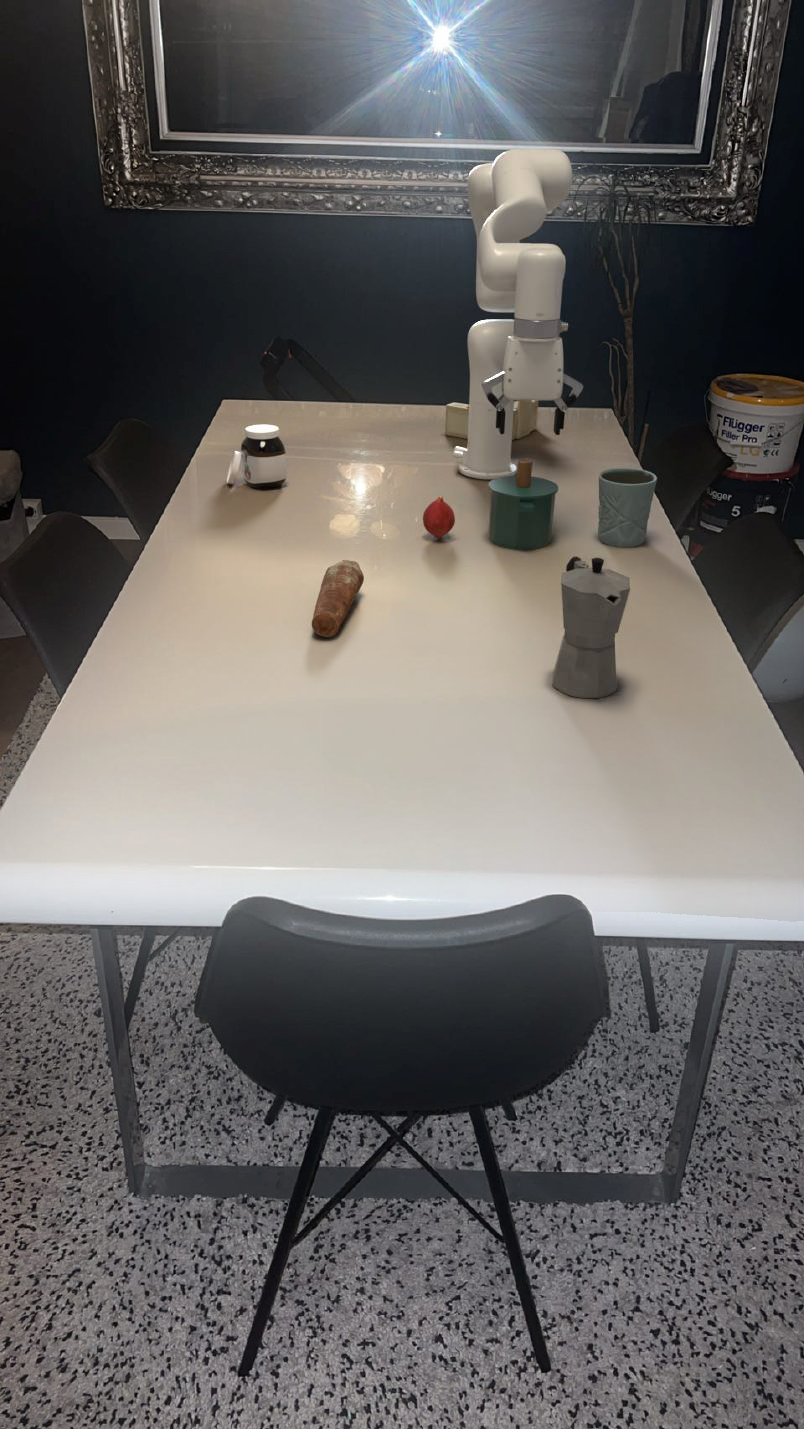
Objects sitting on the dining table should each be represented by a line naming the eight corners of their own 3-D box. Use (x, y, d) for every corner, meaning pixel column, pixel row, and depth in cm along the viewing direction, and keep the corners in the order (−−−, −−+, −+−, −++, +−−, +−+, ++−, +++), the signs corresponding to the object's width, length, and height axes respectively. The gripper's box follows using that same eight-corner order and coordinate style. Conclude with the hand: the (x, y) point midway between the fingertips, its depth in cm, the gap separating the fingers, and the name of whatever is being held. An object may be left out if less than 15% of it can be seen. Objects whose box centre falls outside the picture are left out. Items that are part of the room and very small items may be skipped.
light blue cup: (658, 539, 191) (667, 475, 185) (629, 553, 185) (637, 487, 179) (611, 526, 197) (619, 464, 191) (581, 539, 191) (588, 475, 185)
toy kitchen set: (481, 420, 268) (484, 359, 261) (539, 429, 260) (544, 367, 253) (444, 435, 255) (446, 371, 247) (504, 445, 247) (508, 380, 239)
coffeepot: (636, 702, 136) (654, 574, 127) (569, 710, 134) (582, 580, 125) (591, 652, 149) (605, 533, 140) (529, 658, 147) (539, 537, 138)
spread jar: (292, 487, 216) (290, 431, 210) (243, 496, 211) (240, 439, 205) (265, 473, 225) (262, 419, 219) (218, 481, 219) (213, 426, 213)
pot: (491, 554, 183) (494, 502, 179) (485, 523, 198) (488, 474, 193) (556, 555, 183) (560, 503, 179) (545, 524, 198) (549, 475, 193)
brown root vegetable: (365, 592, 168) (364, 559, 165) (340, 642, 151) (339, 607, 148) (326, 589, 168) (326, 557, 166) (298, 639, 152) (297, 604, 149)
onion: (417, 541, 189) (418, 498, 185) (429, 531, 193) (430, 489, 190) (447, 545, 187) (449, 502, 183) (458, 535, 192) (460, 493, 188)
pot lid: (490, 501, 181) (492, 470, 178) (486, 480, 192) (488, 450, 189) (561, 502, 181) (564, 471, 178) (553, 482, 192) (555, 451, 189)
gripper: (584, 327, 176) (575, 428, 184) (482, 325, 176) (478, 427, 184) (591, 333, 169) (581, 439, 178) (485, 332, 169) (480, 437, 178)
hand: (529, 433), depth 181 cm, fingers open, 9 cm apart
